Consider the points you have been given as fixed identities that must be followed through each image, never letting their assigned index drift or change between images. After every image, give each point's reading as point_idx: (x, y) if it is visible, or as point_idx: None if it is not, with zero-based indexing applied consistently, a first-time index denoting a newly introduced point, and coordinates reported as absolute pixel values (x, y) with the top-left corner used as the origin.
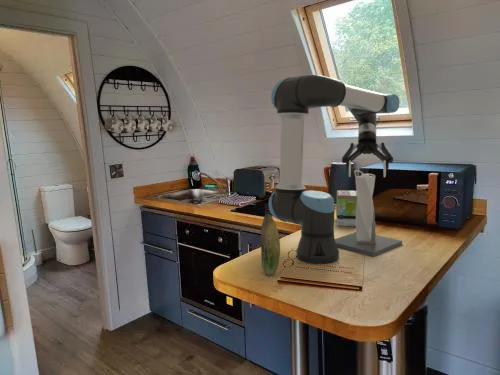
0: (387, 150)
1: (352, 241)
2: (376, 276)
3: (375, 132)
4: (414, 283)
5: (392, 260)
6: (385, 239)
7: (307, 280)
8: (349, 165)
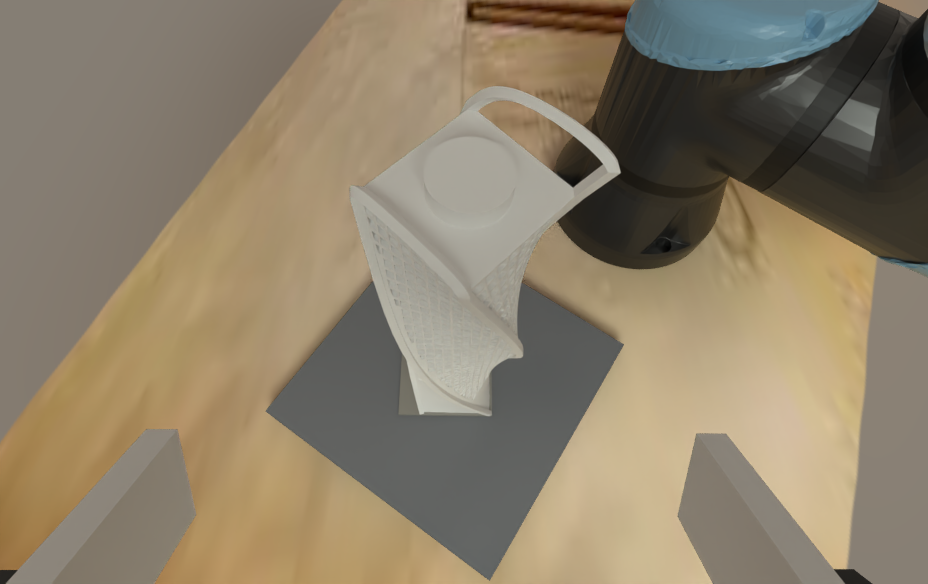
0: None
1: None
2: (424, 77)
3: None
4: (327, 52)
5: None
6: (347, 419)
7: (609, 31)
8: (820, 568)
